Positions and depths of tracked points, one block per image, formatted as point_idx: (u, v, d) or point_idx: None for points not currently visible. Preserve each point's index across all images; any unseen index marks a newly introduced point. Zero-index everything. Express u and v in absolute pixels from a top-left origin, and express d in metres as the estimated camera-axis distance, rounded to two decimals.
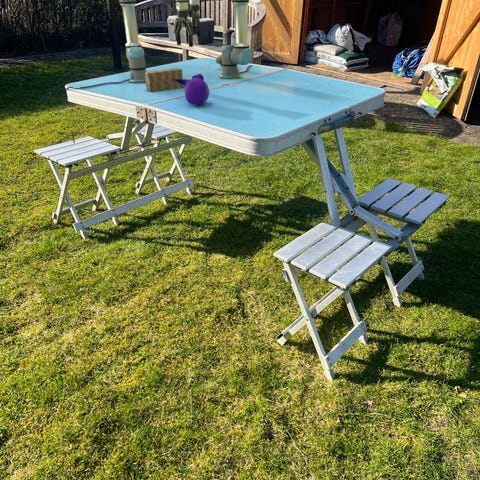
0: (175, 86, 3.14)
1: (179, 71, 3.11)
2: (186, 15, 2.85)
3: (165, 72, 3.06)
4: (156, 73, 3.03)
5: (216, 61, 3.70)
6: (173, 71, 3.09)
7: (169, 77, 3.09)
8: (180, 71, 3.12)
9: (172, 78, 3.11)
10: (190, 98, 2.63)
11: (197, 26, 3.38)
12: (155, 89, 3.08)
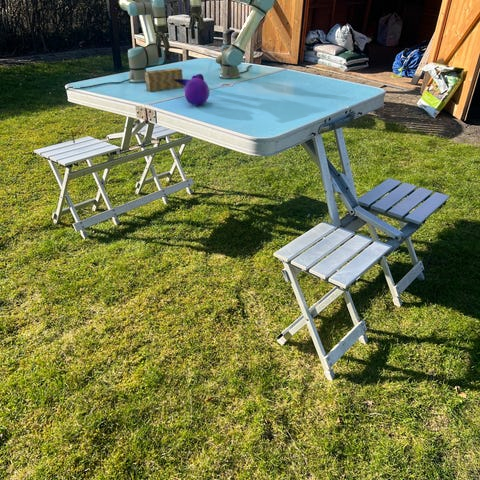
0: (175, 86, 3.14)
1: (179, 71, 3.11)
2: None
3: (165, 72, 3.06)
4: (156, 73, 3.03)
5: (216, 61, 3.70)
6: (173, 71, 3.09)
7: (169, 77, 3.09)
8: (180, 71, 3.12)
9: (172, 78, 3.11)
10: (190, 98, 2.63)
11: (166, 48, 3.04)
12: (155, 89, 3.08)
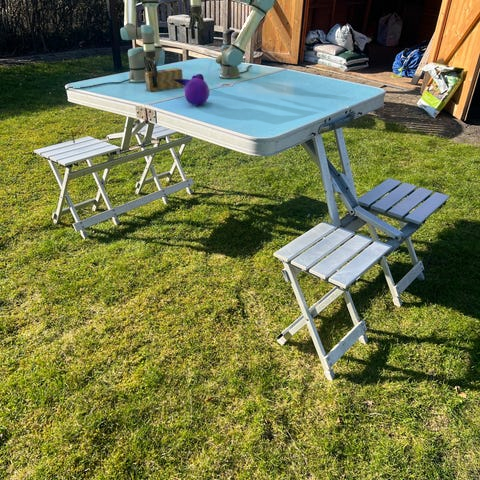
0: (175, 86, 3.14)
1: (179, 71, 3.11)
2: None
3: (165, 72, 3.06)
4: None
5: (216, 61, 3.70)
6: (173, 71, 3.09)
7: (169, 77, 3.09)
8: (180, 71, 3.12)
9: (172, 78, 3.11)
10: (190, 98, 2.63)
11: (154, 77, 3.02)
12: (155, 89, 3.08)
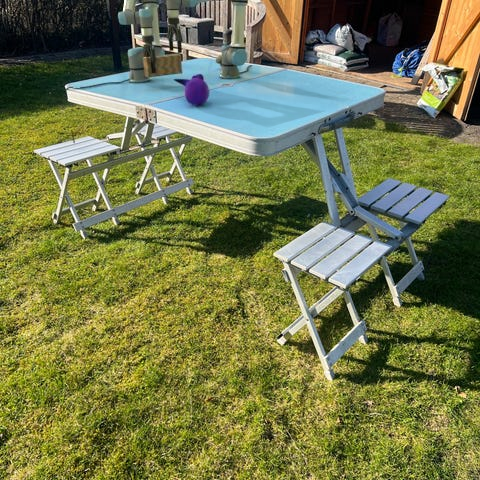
0: (174, 72, 3.10)
1: (178, 57, 3.07)
2: None
3: (164, 57, 3.02)
4: None
5: (216, 61, 3.70)
6: (172, 57, 3.04)
7: (167, 62, 3.04)
8: (179, 57, 3.07)
9: (171, 64, 3.06)
10: (190, 98, 2.63)
11: (152, 62, 2.97)
12: (153, 75, 3.03)
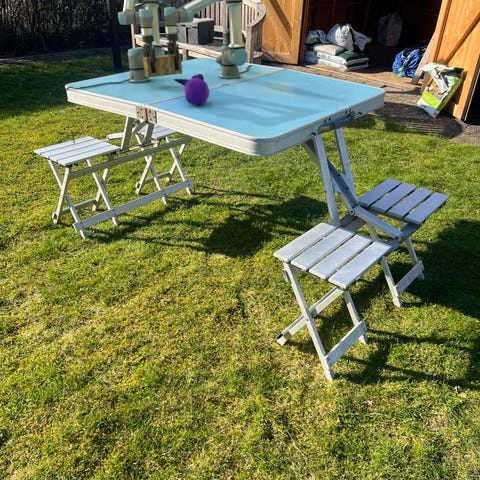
0: (174, 72, 3.10)
1: None
2: None
3: (164, 57, 3.02)
4: None
5: (216, 61, 3.70)
6: (172, 57, 3.04)
7: (167, 62, 3.04)
8: None
9: (171, 64, 3.06)
10: (190, 98, 2.63)
11: (152, 62, 2.97)
12: (153, 75, 3.03)
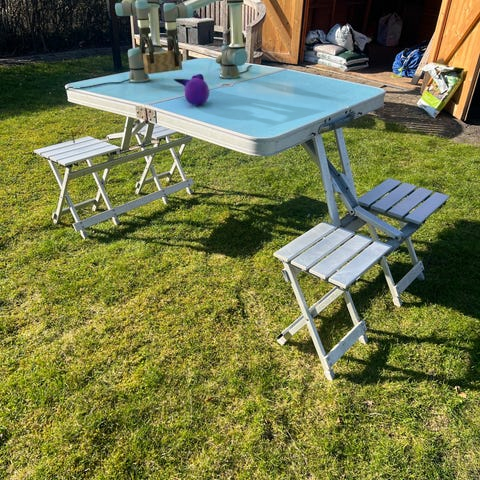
0: (174, 68, 3.09)
1: None
2: None
3: (163, 54, 3.01)
4: (154, 55, 2.98)
5: (216, 61, 3.70)
6: (172, 53, 3.03)
7: (167, 59, 3.03)
8: None
9: (171, 60, 3.05)
10: (190, 98, 2.63)
11: (151, 52, 2.91)
12: (153, 71, 3.02)
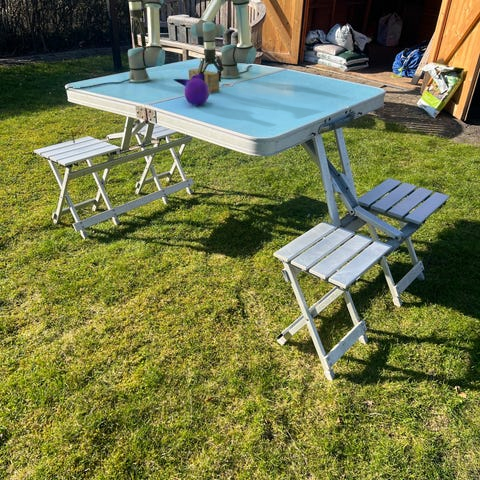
0: None
1: (208, 76, 2.95)
2: None
3: None
4: (193, 71, 3.06)
5: (216, 61, 3.70)
6: (204, 74, 2.97)
7: None
8: (209, 76, 2.94)
9: None
10: (190, 98, 2.63)
11: (142, 35, 2.83)
12: None
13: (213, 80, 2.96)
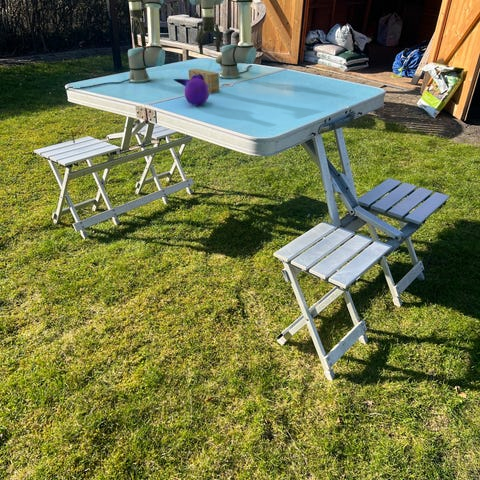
0: None
1: (208, 76, 2.95)
2: None
3: (199, 73, 3.01)
4: (193, 71, 3.06)
5: (216, 61, 3.70)
6: (204, 74, 2.97)
7: None
8: (209, 76, 2.94)
9: None
10: (190, 98, 2.63)
11: (142, 35, 2.83)
12: None
13: (213, 80, 2.96)
